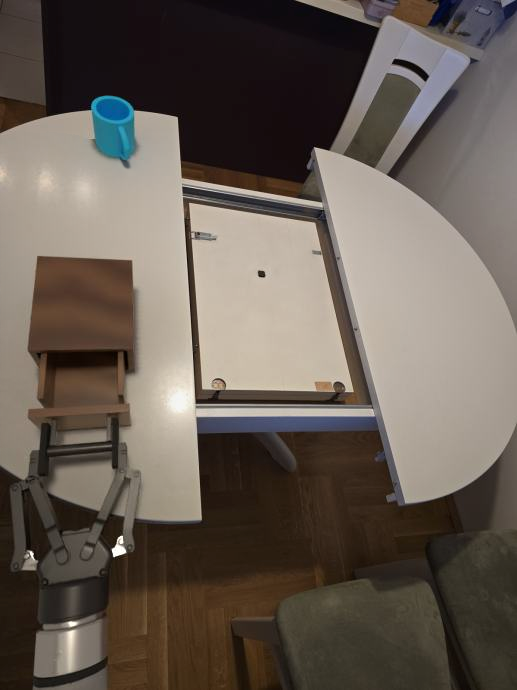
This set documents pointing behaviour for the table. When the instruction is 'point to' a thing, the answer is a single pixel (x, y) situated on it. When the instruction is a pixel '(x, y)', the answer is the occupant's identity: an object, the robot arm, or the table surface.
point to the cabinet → (82, 307)
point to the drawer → (81, 397)
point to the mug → (113, 126)
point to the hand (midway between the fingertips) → (82, 422)
